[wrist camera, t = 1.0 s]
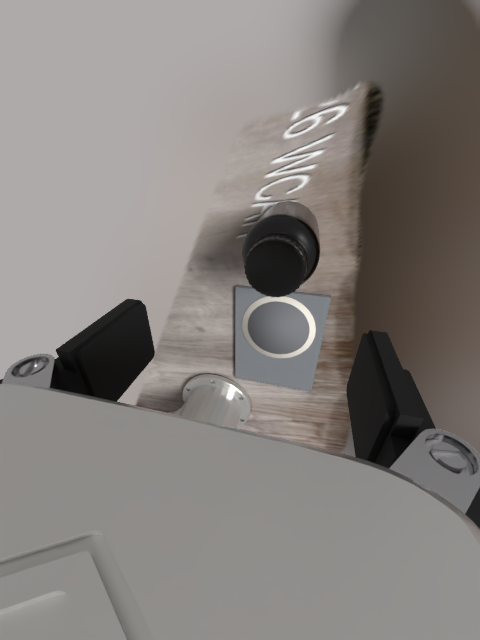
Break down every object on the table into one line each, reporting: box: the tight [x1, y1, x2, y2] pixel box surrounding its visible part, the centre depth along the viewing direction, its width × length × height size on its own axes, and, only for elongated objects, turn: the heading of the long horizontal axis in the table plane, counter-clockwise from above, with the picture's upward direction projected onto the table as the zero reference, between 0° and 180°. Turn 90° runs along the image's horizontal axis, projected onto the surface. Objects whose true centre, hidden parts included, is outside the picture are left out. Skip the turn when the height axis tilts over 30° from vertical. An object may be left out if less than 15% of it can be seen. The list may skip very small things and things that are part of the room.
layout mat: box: [235, 285, 331, 392], centre depth 37 cm, size 16×12×1 cm
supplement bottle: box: [242, 201, 320, 297], centre depth 25 cm, size 7×7×12 cm
